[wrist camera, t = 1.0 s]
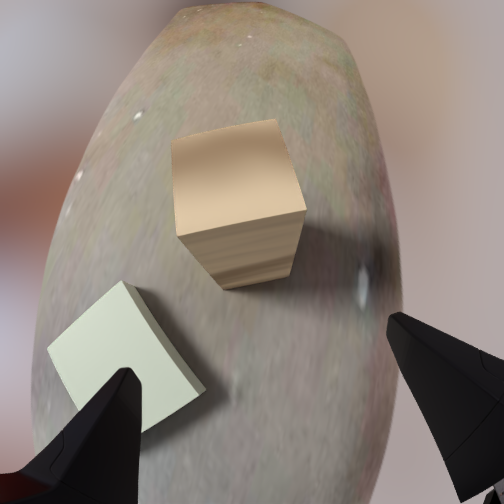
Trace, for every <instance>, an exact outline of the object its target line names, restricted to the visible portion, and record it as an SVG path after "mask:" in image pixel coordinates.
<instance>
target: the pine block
mask: <svg viewBox="0 0 504 504" xmlns="http://www.w3.org/2000/svg"><path fill="white" fill-rule="evenodd" d="M171 151H172V175H173V193H174V208H175V220H176V232H177V237H178V238H179V239H180V241H181V242H182V243H183V244H184V245H185V247H186V248H187V249H188V250H189V251H190V252H191V254H192V255H193V256H194V257H195V258H196V259H197V261H198V262H199V263H200V264H201V265H202V266H203V268H204V269H205V270H206V271H207V272H208V273H209V274H210V276H211V277H212V278H213V279H214V280H215V281H216V282H217V283H218V285H219V286H220V287H221V288H222V289H223V290H226V289H231V288H236V287H241V286H246V285H251V284H256V283H261V282H266V281H271V280H275V279H280V278H285V277H289V275H290V271H291V268H292V264H293V260H294V257H295V253H296V249H297V246H298V242H299V238H300V234H301V230H302V227H303V223H304V219H305V215H306V211H307V209H306V205H305V202H304V199H303V196H302V193H301V190H300V186H299V183H298V180H297V177H296V174H295V171H294V168H293V165H292V162H291V160H290V157H289V154H288V151H287V148H286V145H285V142H284V140H283V137H282V134H281V131H280V129H279V126H278V123H277V121H276V119H270V120H263V121H257V122H251V123H246V124H240V125H235V126H230V127H225V128H220V129H215V130H211V131H207V132H202V133H198V134H194V135H190V136H186V137H182V138H178V139H175V140H171Z"/></svg>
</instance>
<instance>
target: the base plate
mask: <svg viewBox="0 0 504 504" xmlns="http://www.w3.org/2000/svg"><path fill="white" fill-rule="evenodd" d="M47 350H48V352H49V354H50V357H51V359H52V361H53V363H54V365H55V367H56V369H57V371H58V374H59V376H60V378H61V379H62V381H63V383H64V385H65V387H66V389H67V391H68V393H69V394H70V396H71V398H72V400H73V402H74V403H75V405H76V407H77V408H78V410H79V411H80V410H81V409H82V408H83V407H84V406H85V404H86V403H87V402H88V401H89V400H90V399H91V398H92V397H93V396H94V395H95V394H96V393H97V391H98V390H99V389H100V388H101V387H102V386H103V385H104V384H105V383H106V382H107V381H108V380H109V379H110V378H111V376H112V375H113V374H114V373H115V372H116V371H117V370H118V369H119V368H121V367H130V368H132V370H133V371H134V372H135V374H136V375H137V377H138V378H139V380H140V381H141V384H142V431H141V433H142V432H143V431H145V430H147V429H148V428H150V427H152V426H153V425H155V424H156V423H158V422H160V421H161V420H163V419H164V418H166V417H167V416H169V415H171V414H172V413H174V412H175V411H177V410H178V409H180V408H181V407H183V406H184V405H186V404H187V403H189V402H190V401H192V400H193V399H195V398H196V397H197V396H199V395H200V394H202V393H203V392H204V391H206V390H207V389H206V388H205V387H204V386H203V384H202V383H201V382H200V381H199V379H198V378H197V377H196V375H195V374H194V373H193V372H192V370H191V369H190V368H189V366H188V365H187V364H186V362H185V361H184V360H183V358H182V357H181V356H180V354H179V353H178V351H177V350H176V349H175V347H174V346H173V345H172V343H171V342H170V340H169V339H168V337H167V336H166V334H165V333H164V332H163V330H162V329H161V327H160V326H159V324H158V323H157V321H156V320H155V318H154V317H153V315H152V314H151V312H150V310H149V309H148V307H147V306H146V304H145V303H144V301H143V299H142V298H141V296H140V295H139V293H138V291H137V290H136V288H135V286H133V285H130V284H128V283H126V282H124V281H122V280H121V281H120V282H119V283H117V284H116V285H115V286H114V287H113V288H112V289H111V290H109V291H108V292H107V293H106V294H105V295H104V296H103V297H101V298H100V299H99V300H98V301H97V302H96V303H95V304H94V305H92V306H91V307H90V308H89V309H88V310H87V311H86V312H85V313H84V314H83V315H81V316H80V317H79V318H78V319H77V320H76V321H75V322H74V323H73V324H72V325H71V326H70V327H69V328H68V329H66V330H65V331H64V332H63V333H62V334H61V335H60V336H59V337H58V338H57V339H56V340H55V341H54V342H53V343H52V344H51V345H50V346H49V347H48V348H47Z"/></svg>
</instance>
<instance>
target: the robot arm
mask: <svg viewBox="0 0 504 504" xmlns="http://www.w3.org/2000/svg"><path fill="white" fill-rule="evenodd" d="M386 335H387V339H388V341H389V344H390V346H391V349H392V351H393V353H394V356H395V358H396V361H397V363H398V366H399V368H400V371H401V373H402V374H403V377H404V379H405V381H406V383H407V385H408V386H409V388H410V390H411V392H412V394H413V396H414V398H415V400H416V402H417V404H418V406H419V408H420V410H421V412H422V414H423V416H424V418H425V420H426V422H427V424H428V426H429V428H430V431H431V433H432V435H433V437H434V439H435V442H436V444H437V446H438V448H439V450H440V453H441V455H442V457H443V460H444V461H445V465H446V467H447V470H448V472H449V475H450V477H451V480H452V482H453V485H454V487H455V490H456V493H457V495H458V498H459V500H460V503H462V502H464V501H466V500H468V499H470V498H472V497H474V496H476V495H478V494H479V493H481V492H483V491H484V490H486V489H488V488H489V487H491V486H494V489H493V490H492V491H490V492H489V493H488V494H487V495H486V497H485V500H484V503H483V504H504V360H502V359H499V358H497V357H495V356H493V355H490V354H488V353H486V352H484V351H482V350H479V349H478V348H475V347H474V346H472V345H469V344H467V343H465V342H463V341H461V340H459V339H457V338H455V337H453V336H451V335H448V334H446V333H444V332H442V331H440V330H438V329H436V328H434V327H432V326H429V325H427V324H425V323H423V322H421V321H419V320H417V319H415V318H413V317H410V316H408V315H406V314H404V313H402V312H397V313H394V314H391V315H390V316H389V318H388V324H387V331H386ZM141 431H142V384H141V381H140V380H139V378H138V377H137V375H136V374H135V372H134V371H133V370H132V368H130V367H121V368H119V369H118V370H117V371H116V372H115V373H114V374H113V375H112V376H111V378H110V379H109V380H108V381H107V382H106V383H105V384H104V385H103V386H102V387H101V388H100V389H99V390H98V391H97V393H96V394H95V395H94V396H93V397H92V398H91V399H90V400H89V401H88V402H87V403H86V404H85V406H84V407H83V408H82V409H81V410H80V411H79V412H78V413H77V414H76V415H75V416H74V417H73V419H72V420H71V421H70V422H69V423H68V424H67V425H66V426H65V427H64V428H63V430H62V431H61V432H60V433H59V434H58V435H57V436H56V437H55V438H54V439H53V440H52V441H51V442H50V443H49V444H48V445H47V446H46V447H45V448H44V449H43V450H42V451H41V452H40V453H39V454H38V455H37V456H36V457H35V458H34V459H32V460H31V461H30V462H29V463H28V464H27V465H26V466H25V467H24V468H22V469H21V470H19V471H17V472H14V473H5V474H0V504H138V476H139V456H140V442H141Z"/></svg>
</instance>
